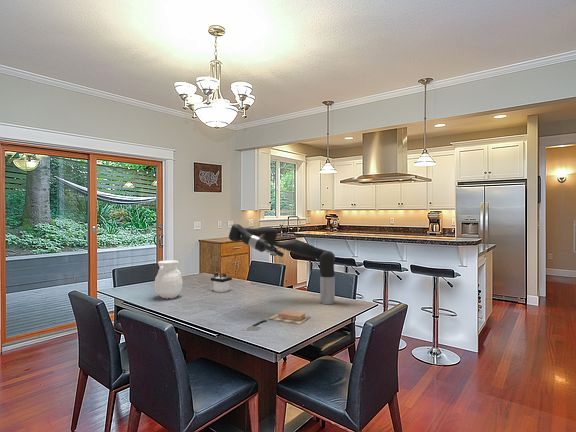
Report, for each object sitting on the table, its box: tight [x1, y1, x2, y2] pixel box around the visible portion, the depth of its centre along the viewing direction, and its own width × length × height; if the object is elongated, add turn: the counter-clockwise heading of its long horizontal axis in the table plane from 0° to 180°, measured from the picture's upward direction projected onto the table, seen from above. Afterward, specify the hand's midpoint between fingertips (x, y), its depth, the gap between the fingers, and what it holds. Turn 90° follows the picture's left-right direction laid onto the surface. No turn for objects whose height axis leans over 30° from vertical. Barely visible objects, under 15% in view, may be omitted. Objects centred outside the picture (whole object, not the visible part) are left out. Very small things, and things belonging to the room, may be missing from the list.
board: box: [268, 313, 311, 325], centre depth 198 cm, size 19×14×1 cm
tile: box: [277, 309, 306, 321], centre depth 197 cm, size 2×8×13 cm
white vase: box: [153, 259, 183, 300], centre depth 247 cm, size 19×18×25 cm
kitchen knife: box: [239, 319, 268, 332], centre depth 180 cm, size 29×1×10 cm
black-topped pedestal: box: [210, 272, 233, 293], centre depth 266 cm, size 28×26×13 cm
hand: (282, 255), depth 205 cm, fingers closed
